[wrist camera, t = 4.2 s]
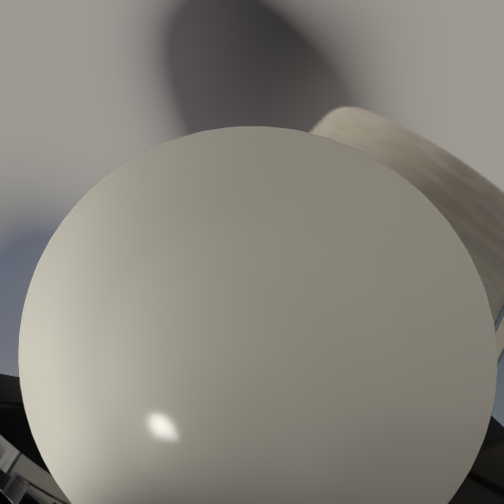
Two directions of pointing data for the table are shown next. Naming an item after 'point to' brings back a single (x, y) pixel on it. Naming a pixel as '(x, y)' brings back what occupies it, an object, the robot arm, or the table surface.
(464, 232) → the table surface
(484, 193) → the table surface
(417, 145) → the table surface
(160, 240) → the canister
